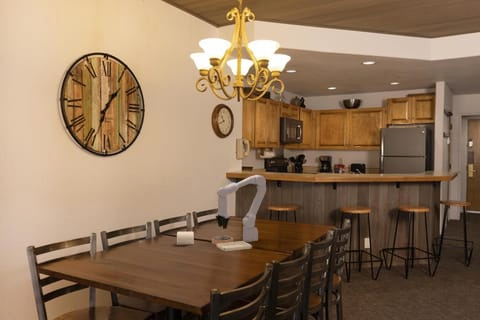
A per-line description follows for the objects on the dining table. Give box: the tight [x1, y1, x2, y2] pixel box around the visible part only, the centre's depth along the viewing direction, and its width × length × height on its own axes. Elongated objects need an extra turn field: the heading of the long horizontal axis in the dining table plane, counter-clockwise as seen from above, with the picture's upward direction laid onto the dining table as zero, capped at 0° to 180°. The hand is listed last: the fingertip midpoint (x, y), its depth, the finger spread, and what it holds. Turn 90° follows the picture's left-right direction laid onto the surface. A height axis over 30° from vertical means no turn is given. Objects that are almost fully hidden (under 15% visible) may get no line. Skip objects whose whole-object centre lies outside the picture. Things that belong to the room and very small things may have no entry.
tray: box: [215, 240, 253, 252], centre depth 233 cm, size 18×13×2 cm
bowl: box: [211, 236, 234, 246], centre depth 245 cm, size 13×13×4 cm
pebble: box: [214, 235, 223, 240], centre depth 244 cm, size 4×4×4 cm
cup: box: [176, 231, 195, 246], centre depth 244 cm, size 8×12×10 cm
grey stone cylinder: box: [221, 234, 230, 240], centre depth 246 cm, size 4×4×4 cm
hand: (222, 227), depth 247 cm, fingers open, 7 cm apart
